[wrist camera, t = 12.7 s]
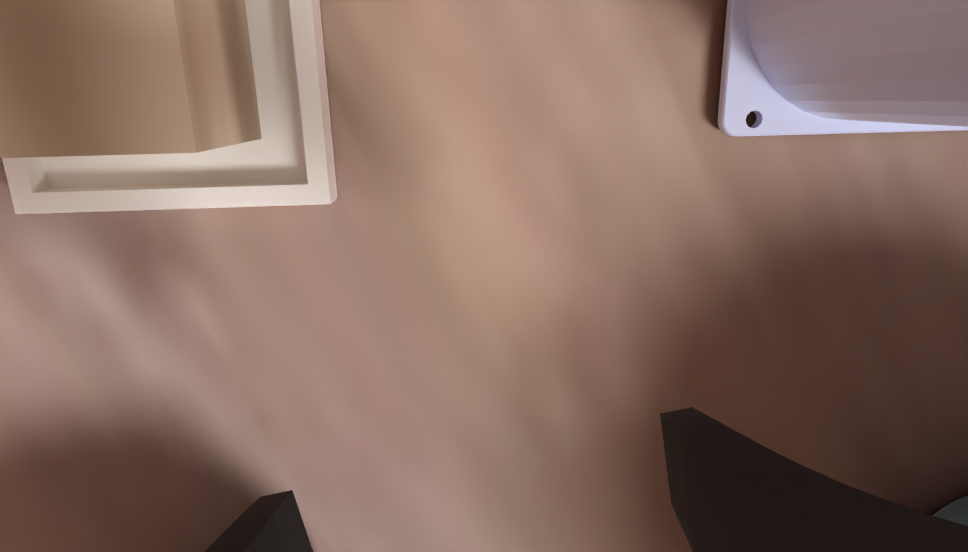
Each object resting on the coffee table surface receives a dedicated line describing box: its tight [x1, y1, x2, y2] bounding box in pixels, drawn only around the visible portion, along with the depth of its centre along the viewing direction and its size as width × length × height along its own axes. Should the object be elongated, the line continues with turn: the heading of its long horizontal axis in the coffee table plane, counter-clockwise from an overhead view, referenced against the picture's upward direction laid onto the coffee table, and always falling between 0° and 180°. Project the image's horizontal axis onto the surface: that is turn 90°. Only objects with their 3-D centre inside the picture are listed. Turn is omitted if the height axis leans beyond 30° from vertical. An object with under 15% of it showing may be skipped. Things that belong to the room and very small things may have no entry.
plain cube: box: [0, 0, 262, 158], centre depth 15 cm, size 5×5×5 cm
